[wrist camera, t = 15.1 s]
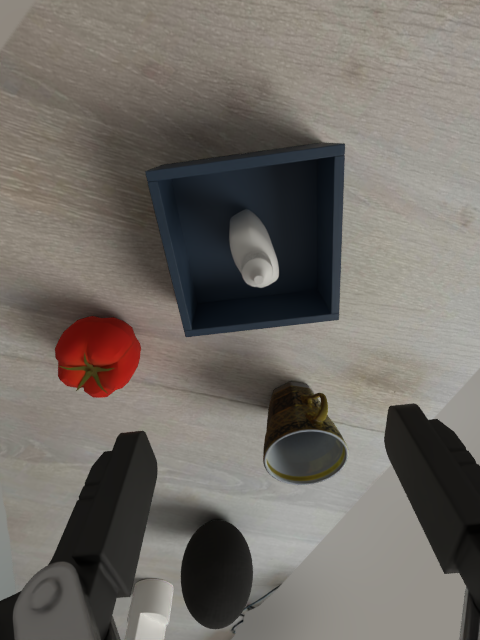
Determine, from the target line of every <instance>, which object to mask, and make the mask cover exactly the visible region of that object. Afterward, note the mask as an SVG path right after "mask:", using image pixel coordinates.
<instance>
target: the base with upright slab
mask: <svg viewBox="0 0 480 640" xmlns="http://www.w3.org/2000/svg"><path fill="white" fill-rule="evenodd" d="M172 597H173V585H172V584H171V583H169V582H167V581H165V580H161V579H144V580H141V581H139V582H137V583H136V584H135V587H134V591H133V596H132V600H131V605H130V609H129V614H128V618H127V622H128V626H127V631H126V636H125V640H164V637H165V630H166V626H167V625H168V624H169V619H170V612H171V604H172Z"/></svg>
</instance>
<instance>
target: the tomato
mask: <svg viewBox="0 0 480 640" xmlns="http://www.w3.org/2000/svg"><path fill="white" fill-rule="evenodd" d="M140 351H141V347H140V343H139V341H138V340H137V338H136V337H135V334H134V331H133V328H132V327H131V326H130V325H128V324H127V323H126V322H124V321H122V320H119V319H117V318H114V317H111V318H99V317H95V316H90V317H86V318H83V319H80V320H77V321H76V322H75V323H73V324H72V325H71V326H70V327H69V328H67V329H66V330H65V331H64V332H63V334H62V335H61V337H60V339H59V341H58V343H57V345H56V348H55V355H56V359H57V360H58V377H59V379H60V380H61V381H62V382H63V383H64V384H65V385H67V386H70V387H76V388H77V390H78V389H79V388H81V387H83V388H84V391H85V392H86V393H88V394H89V395H91V396H92V397H108V396H109V395H110V394H111V393H113V392H114V391H115V390H117V389H120V388H123V387H124V386H125V385H126V384H127V383H128V382H129V380H130V379H131V377H132V376H133V374H134V372H135V370H136V368H137V367H138V363H139V359H140ZM77 390H76V391H77Z"/></svg>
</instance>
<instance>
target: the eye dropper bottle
mask: <svg viewBox="0 0 480 640" xmlns="http://www.w3.org/2000/svg"><path fill="white" fill-rule="evenodd" d="M229 240H230V248H231V253H232V256H233V259H234V262H235V264H236V266H237V268H238V269H239V271H240V272H241V274H242V276H243V279H244V281H245V282H246V283H247V284H248V285H251V286H254V287H259V288H262V287H266V286H268V285H270V284H272V283H273V282H275V281H276V280H277V279H278V277H279V266H278V261H277V257H276V254H275V251H274V248H273V246H272V243H271V240H270V237H269V234H268V232H267V230H266V228H265V226H264V225H263V223H262V222H261V220H260V219H259V218H258V217H257V216H256V215H255V214H254V213H253V212H251V211H250V210H247V209H245V210H242V211H241V212H239V213H237V214H236V215H234V216H233V217H232V218H231V219H230V229H229Z"/></svg>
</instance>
